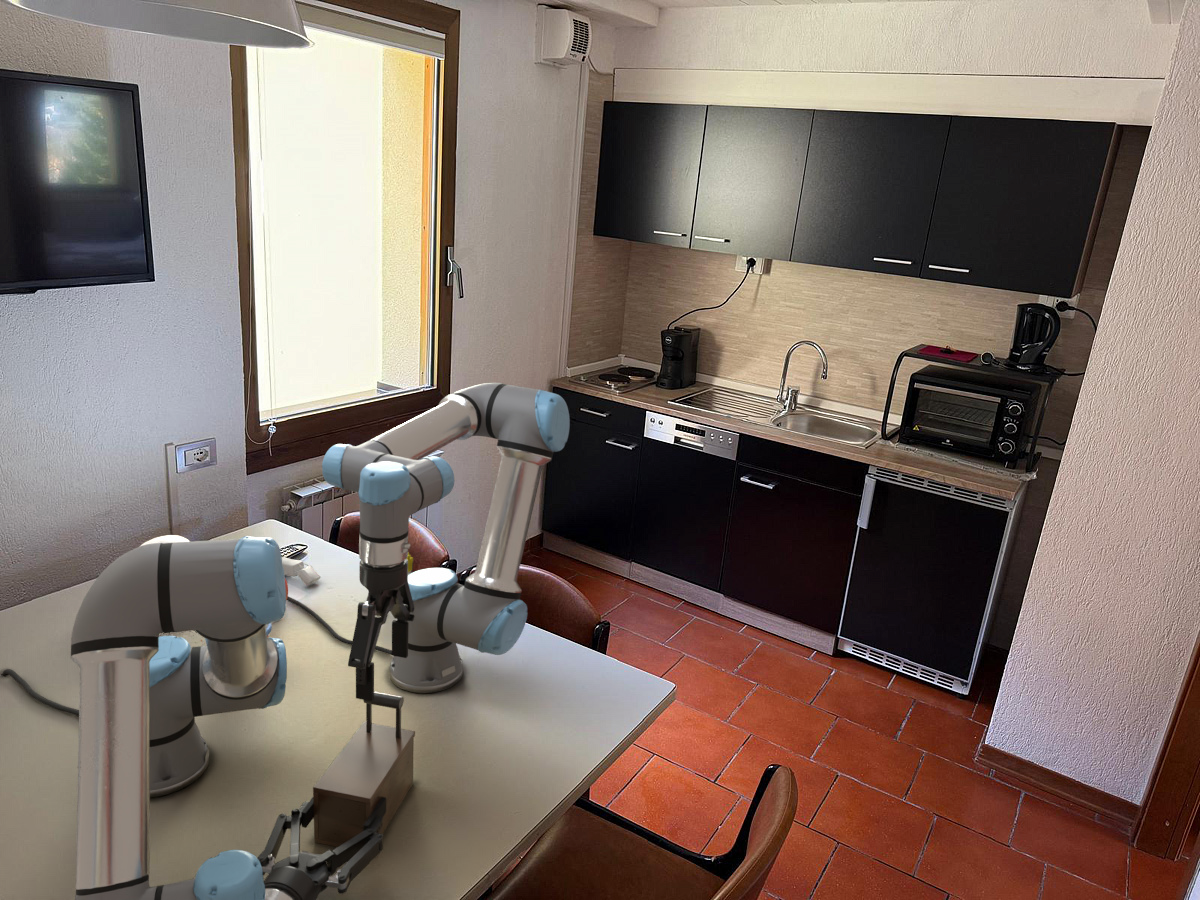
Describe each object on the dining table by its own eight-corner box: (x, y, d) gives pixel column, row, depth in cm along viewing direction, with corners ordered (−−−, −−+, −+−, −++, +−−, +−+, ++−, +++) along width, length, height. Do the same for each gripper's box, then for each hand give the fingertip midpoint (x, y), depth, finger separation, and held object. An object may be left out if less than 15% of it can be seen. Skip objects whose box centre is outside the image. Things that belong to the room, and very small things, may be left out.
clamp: (253, 565, 223) (254, 542, 221) (265, 560, 226) (266, 537, 224) (309, 593, 215) (310, 569, 213) (320, 588, 218) (321, 564, 216)
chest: (362, 773, 151) (362, 728, 148) (413, 783, 149) (413, 738, 147) (314, 842, 135) (312, 792, 132) (370, 854, 133) (370, 804, 131)
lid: (363, 726, 149) (363, 682, 146) (415, 735, 147) (415, 691, 145) (312, 792, 132) (311, 743, 130) (370, 804, 131) (370, 755, 128)
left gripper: (205, 912, 118) (290, 804, 139) (355, 947, 115) (419, 831, 136) (202, 869, 116) (289, 765, 137) (354, 903, 112) (419, 791, 133)
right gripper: (371, 596, 123) (371, 723, 130) (435, 534, 147) (432, 643, 153) (323, 588, 125) (325, 714, 131) (394, 527, 148) (392, 636, 154)
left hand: (354, 798), depth 136 cm, fingers closed on chest, 9 cm apart
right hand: (383, 676), depth 142 cm, fingers open, 13 cm apart
